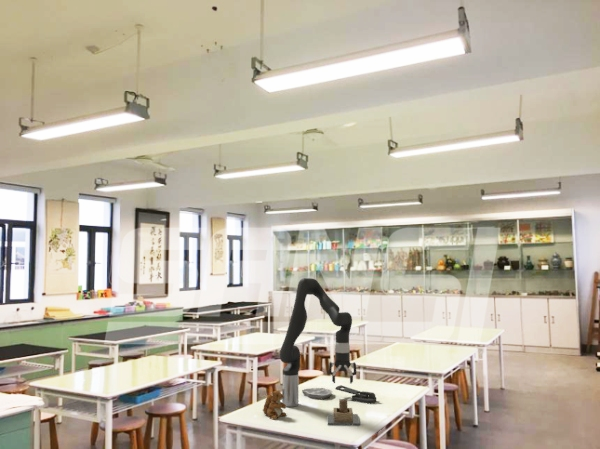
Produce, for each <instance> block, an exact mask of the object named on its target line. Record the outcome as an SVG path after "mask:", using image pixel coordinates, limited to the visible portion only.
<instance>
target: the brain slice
mask: <svg viewBox="0 0 600 449" xmlns="http://www.w3.org/2000/svg"><path fill="white" fill-rule="evenodd" d="M301 392H302V394H303V395H304V397H308V398H311V399H317V400H324V399H328V398H330V397H331V395H332V394H333V391H332V389H330V388H324V387H321V388H320V387H316V388H314V387H313V388H304V389H302V390H301Z"/></svg>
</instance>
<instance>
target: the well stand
mask: <svg viewBox="0 0 600 449" xmlns="http://www.w3.org/2000/svg"><path fill="white" fill-rule="evenodd" d="M326 417H327V425H328V426H361V422H360V417H359V414H358V413H354V412H353V408H352V407H347V412H339V407H333V413H327V416H326Z"/></svg>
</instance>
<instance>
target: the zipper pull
mask: <svg viewBox="0 0 600 449" xmlns="http://www.w3.org/2000/svg"><path fill="white" fill-rule="evenodd" d="M334 388H335V390H337V391H340V392H345V393H348V394H352V396H351V401H352V402H357V403H363V404H366V403H367V405H371V403H373V404H375V402H376V403H377V397H376V394H375V393H374V392H370V391H364V390H363V391H360V390H356V389H353V388H351V387H347V386H344V385H337V386H336V387H334ZM369 403H370V404H369Z"/></svg>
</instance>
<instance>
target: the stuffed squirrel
mask: <svg viewBox="0 0 600 449" xmlns="http://www.w3.org/2000/svg"><path fill="white" fill-rule="evenodd" d="M283 398H284V396H283V395H282V392H281V391H280V390H279V389H278V390H275V391H274V390H273V391H271V392H270V394H268V395H267V397H266V399H265V402H264V405H263V409H262V411H263V414H264V415H265V414H266V415H265V416H268V418H269V417H270V418H269V419H271V418H273V419H272V420H274V419H275V420H277V418H279V417H286V416H287V412H284V409H286V408H287V406H286V405H285V404H284V403H282V399H283ZM285 415H286V416H285Z"/></svg>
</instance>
